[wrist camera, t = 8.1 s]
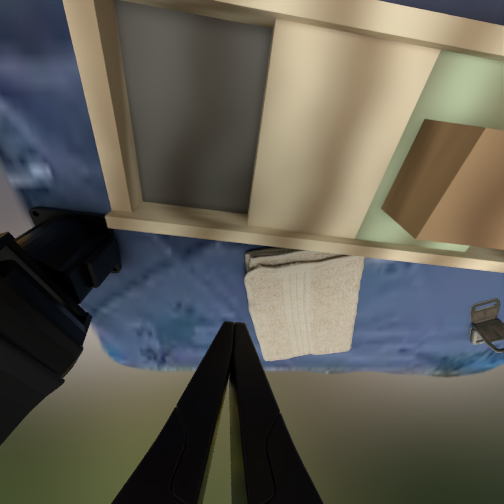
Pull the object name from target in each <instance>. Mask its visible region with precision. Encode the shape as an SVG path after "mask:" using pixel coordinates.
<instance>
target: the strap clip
mask: <svg viewBox="0 0 504 504" xmlns="http://www.w3.org/2000/svg"><path fill="white" fill-rule="evenodd" d="M492 302H495V305H492V306H488V307H485V308H481V309H477V310H475V308H476V307H478V306H481V305H485V304H488V303H492ZM499 308H500V301H499V300H498V299H497V298H495V299H491V300H487V301H484V302H480V303H477V304H474V305H472V307H471V309H470V317H471V322H472V323H474V324H475V325H474V326H473V328H471V329H470V336H469V339H470V341H471V342H472V344H474V345H477V344H481V343H486V344H487V345H488V346H489V347H490V348H492V349H493V350H494V351H496V352H498V353H501V352H504V348H503V349H497V348H496V347H495V346H494V345H493V344H492V342H496V341H500V340H504V323H503V322H502V321H501V320H499V319H495V317H497V316H498V312H499Z"/></svg>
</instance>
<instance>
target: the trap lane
mask: <svg viewBox="0 0 504 504" xmlns="http://www.w3.org/2000/svg"><path fill="white" fill-rule="evenodd" d="M63 4H64V8H65V13H66V17H67V21H68V25H69V30H70V34H71V38H72V43H73V47H74V51H75V55H76V60H77V64H78V68H79V73H80V77H81V81H82V85H83V90H84V94H85V98H86V102H87V107H88V111H89V115H90V120H91V124H92V128H93V132H94V137H95V141H96V145H97V150H98V154H99V158H100V162H101V167H102V171H103V175H104V179H105V184H106V188H107V192H108V197H109V201H110V205H111V209H112V210H111V211H110V212H109V213H108V214H107V215H105V219H106V223H107V226H108V228H113V229H122V230H131V231H139V232H148V233H157V234H166V235H175V236H184V237H193V238H201V239H210V240H219V241H228V242H237V243H246V244H255V245H263V246H272V247H281V248H290V249H299V250H308V251H317V252H325V253H334V254H343V255H352V256H361V257H370V258H379V259H387V260H396V261H405V262H414V263H423V264H432V265H440V266H449V267H458V268H467V269H476V270H485V271H494V272H502V273H504V250H501V249H492V248H484V247H476V246H467V245H459V244H450V243H442V242H433V241H425V240H416V239H414V238H413V237H412V236H411V235H410V234H409V233H408V232H407V231H406V230H404V229H403V228H402V227H401V226H400V225H399V224H398V223H397V222H395V221H394V220H393V219H392V218H391V217H390V216H389V215H388V214H386V213H385V212H384V211H383V210H382V209H381V207H382V205H383V203H384V201H385V199H386V197H387V195H388V193H389V191H390V189H391V187H392V185H393V183H394V181H395V179H396V177H397V174H398V172H399V170H400V168H401V166H402V164H403V162H404V160H405V158H406V156H407V154H408V152H409V150H410V148H411V146H412V144H413V142H414V140H415V137H416V135H417V133H418V131H419V129H420V127H421V125H422V123H423V121H424V119H430V120H436V121H443V122H450V123H457V124H464V125H471V126H478V127H484V128H491V129H497V130H503V131H504V26H501V25H496V24H491V23H486V22H481V21H477V20H472V19H467V18H462V17H457V16H452V15H447V14H442V13H437V12H432V11H427V10H422V9H417V8H412V7H407V6H402V5H398V4H393V3H388V2H383V1H378V0H63Z"/></svg>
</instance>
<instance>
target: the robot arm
mask: <svg viewBox="0 0 504 504" xmlns="http://www.w3.org/2000/svg"><path fill="white" fill-rule="evenodd" d="M29 213H30V215H31V217H32V220H33V222H34V224H35V227H33V228H32V229H30V230H28V231H27V232H25V233H24V234H22V235H20V236H19V237H17V238H14V237H13V236H12V235H11V234H10V233H9V232H5V233H1V234H0V445H1V444H2V443H3V442H4V441H5V440H6V438H7V437H8V436H9V435H10V434H11V433H12V431H13V430H14V429H15V428H16V427H17V426H18V425H19V423H20V422H21V421H22V420H23V419H24V418H25V417H26V416H27V415H28V413H29V412H30V411H31V410H32V409H33V408H34V407H35V406H37V405H38V404H39V403H40V402H41V401H42V400H43V399H44V398H45V397H46V396H48V395H49V394H50V393H52V392H53V391H54V390H55V389H57V388H58V387H60V386H61V385H62V384H63V383H64V381H65V380H64V379H63V377H64V376H65V375H66V374H67V373H68V372H69V371H70V370H71V369H72V367H73V366H74V364H75V363H76V361H77V359H78V358H79V356H80V355H81V353H82V351H83V347H82V345H83V343H84V339H85V337H86V333H87V331H88V328H89V325H90V322H91V319H92V316H91V315H90V314H89V313H88V312H85V311H84V310H83V309H82V308H81V307H80V306H79V305H78V304H80V303H81V302H82V301H83V299H84V298H85V297H86V296H87V295H88V293H89V292H90V291H91V290H92V288H97V287H99V286H100V285H101V283H102V282H103V281H104V280H105V278H106V277H107V276H108V275H109V273H118V272H119V271H120V270H121V264H120V255H119V251H118V247H117V243H116V239H115V238H114V235H113V231H112V228H108V226H107V223H106V219H105V215H103V214H95V213H87V212H78V211H70V210H61V209H53V208H44V207H33V208H32V209H30V210H29ZM101 219H103V220H104V221H105V222H103V221H102V220H101ZM228 379H229V412H230V456H231V457H230V460H231V504H324V503H323V501H322V499H321V497H320V495H319V494H318V491H317V490H316V488H315V486H314V484H313V482H312V480H311V478H310V476H309V474H308V472H307V470H306V468H305V466H304V464H303V462H302V460H301V458H300V456H299V454H298V452H297V450H296V448H295V446H294V444H293V441H292V439H291V437H290V434H289V432H288V430H287V427H286V425H285V422H284V420H283V417H282V414H281V413H280V410H279V408H278V405H277V402H276V400H275V397H274V395H273V392H272V390H271V387H270V384H269V382H268V380H267V377H266V374H265V372H264V369H263V367H262V364H261V362H260V359H259V357H258V354H257V352H256V349H255V347H254V344H253V342H252V339H251V336H250V334H249V331H248V329H247V326H246V324H245V323H241V322H236V323H235V324H234V322H229V321H225V322H224V323H223V324H222V326H221V328H220V330H219V331H218V333H217V335H216V337H215V338H214V340H213V342H212V344H211V345H210V347H209V349H208V351H207V352H206V354H205V356H204V358H203V359H202V361H201V363H200V365H199V366H198V368H197V370H196V372H195V373H194V375H193V377H192V379H191V380H190V382H189V384H188V386H187V388H186V389H185V391H184V393H183V395H182V396H181V398H180V400H179V402H178V403H177V407H175V408H174V410H173V412H172V413H171V416H170V417H169V419H168V420H167V422H166V424H165V425H164V427H163V429H162V430H161V432H160V434H159V435H158V437H157V439H156V440H155V442H154V443H153V445H152V446H151V447H150V449H149V451H148V452H147V453H146V455H145V456H144V458H143V459H142V461H141V462H140V464H139V465H138V466H137V468H136V469H135V471H134V472H133V474H132V475H131V476H130V478H129V479H128V481H127V482H126V483H125V485H124V486H123V488H122V489H121V491H120V492H119V493H118V495H117V496H116V498H115V499H114V500H113V502H112V503H111V504H203V500H204V495H205V491H206V486H207V481H208V476H209V471H210V466H211V461H212V457H213V452H214V446H215V442H216V438H217V432H218V428H219V423H220V418H221V413H222V409H223V404H224V399H225V394H226V389H227V384H228Z"/></svg>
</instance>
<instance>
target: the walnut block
mask: <svg viewBox="0 0 504 504" xmlns="http://www.w3.org/2000/svg"><path fill="white" fill-rule="evenodd" d="M381 209H382V210H383V211H384V212H385V213H386V214H388V215H389V216H390V217H391V218H392V219H393V220H394V221H395V222H397V223H398V224H399V225H400V226H401V227H402V228H403V229H404V230H406V231H407V232H408V233H409V234H410V235H411V236H412V237H413V238H414V239H416V240H425V241H433V242H442V243H450V244H459V245H467V246H476V247H484V248H492V249H501V250H504V131H503V130H497V129H491V128H484V127H478V126H471V125H464V124H457V123H450V122H443V121H436V120H430V119H424V121H423V123H422V125H421V127H420V129H419V131H418V133H417V135H416V137H415V140H414V142H413V144H412V146H411V148H410V150H409V152H408V154H407V156H406V158H405V160H404V162H403V164H402V166H401V168H400V170H399V172H398V174H397V177H396V179H395V181H394V183H393V185H392V187H391V189H390V191H389V193H388V195H387V197H386V199H385V201H384V203H383V205H382V207H381Z"/></svg>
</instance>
